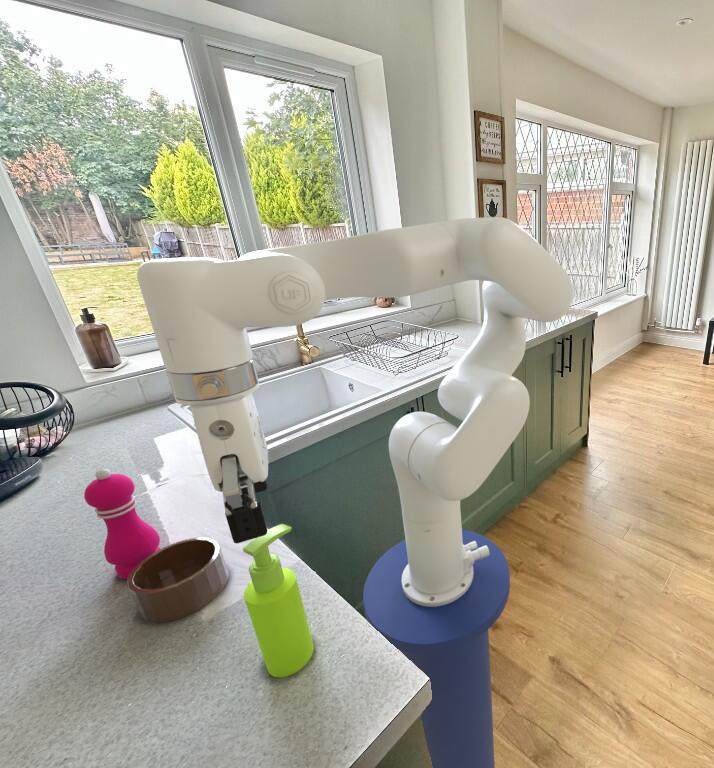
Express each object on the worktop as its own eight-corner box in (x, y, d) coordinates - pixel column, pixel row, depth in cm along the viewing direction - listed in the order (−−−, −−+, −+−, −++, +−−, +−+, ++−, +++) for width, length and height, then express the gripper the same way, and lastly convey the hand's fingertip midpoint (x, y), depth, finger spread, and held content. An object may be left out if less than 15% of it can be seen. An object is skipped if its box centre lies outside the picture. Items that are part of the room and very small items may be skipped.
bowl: (230, 555, 76) (222, 528, 74) (225, 602, 66) (216, 573, 64) (149, 580, 71) (138, 553, 69) (131, 635, 61) (117, 605, 59)
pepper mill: (114, 564, 74) (71, 468, 67) (165, 545, 79) (130, 453, 72) (113, 589, 69) (67, 487, 62) (168, 566, 74) (130, 470, 67)
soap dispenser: (328, 640, 60) (302, 528, 53) (286, 685, 54) (250, 566, 47) (300, 625, 62) (271, 516, 55) (257, 666, 56) (218, 550, 49)
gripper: (255, 399, 38) (291, 546, 44) (258, 354, 53) (284, 471, 58) (153, 416, 35) (206, 573, 41) (185, 363, 49) (221, 486, 55)
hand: (252, 513), depth 50 cm, fingers open, 9 cm apart
